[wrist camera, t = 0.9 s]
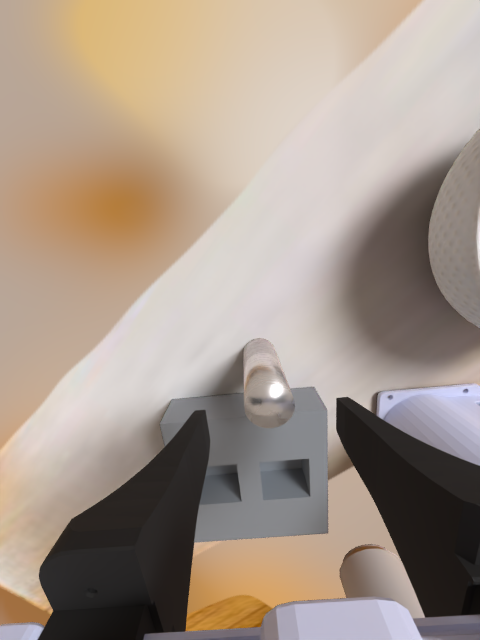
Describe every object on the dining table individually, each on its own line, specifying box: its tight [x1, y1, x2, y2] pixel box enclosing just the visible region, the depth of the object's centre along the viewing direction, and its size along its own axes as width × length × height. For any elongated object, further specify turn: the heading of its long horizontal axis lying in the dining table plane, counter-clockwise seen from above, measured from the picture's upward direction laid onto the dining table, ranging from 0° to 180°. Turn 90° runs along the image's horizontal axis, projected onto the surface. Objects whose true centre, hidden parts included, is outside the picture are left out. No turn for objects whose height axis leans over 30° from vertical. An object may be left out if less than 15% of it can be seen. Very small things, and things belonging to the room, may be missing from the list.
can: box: [340, 544, 425, 618], centre depth 22 cm, size 8×8×12 cm
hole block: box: [160, 387, 328, 542], centre depth 22 cm, size 14×14×4 cm
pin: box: [243, 338, 295, 428], centre depth 17 cm, size 3×3×8 cm
